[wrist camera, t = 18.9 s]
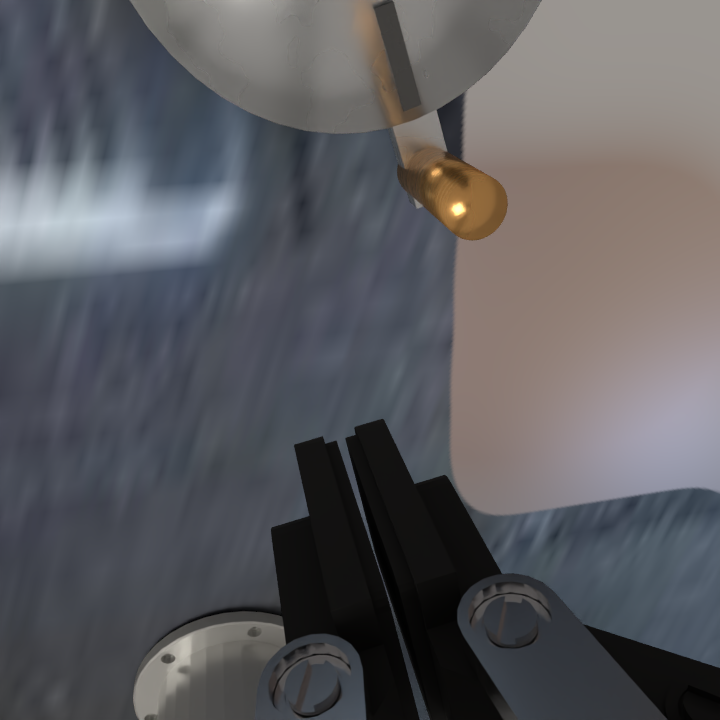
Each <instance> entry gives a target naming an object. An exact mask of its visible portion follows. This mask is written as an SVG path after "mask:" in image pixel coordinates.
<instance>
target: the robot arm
mask: <svg viewBox="0 0 720 720" xmlns="http://www.w3.org/2000/svg"><path fill="white" fill-rule="evenodd" d="M355 433H356V435H354V436H350V437H347V438H346V443H347V447H348V451H349V455H350V458H351V462H352V466H353V470H354V474H355V478H356V481H357V485H358V489H359V493H360V497H361V501H362V504H363V508H364V512H365V516H366V520H367V523H368V527H369V531H370V535H371V539H372V543H373V546H374V550H375V554H376V557H377V561H378V564H379V567H380V570H381V573H382V576H383V579H384V582H385V585H386V588H387V591H388V594H389V597H390V600H391V603H392V606H393V609H394V612H395V615H396V618H397V621H398V624H399V627H400V630H401V633H402V636H403V639H404V642H405V645H406V648H407V651H408V654H409V657H410V660H411V663H412V666H413V669H414V672H415V675H416V678H417V681H418V684H419V687H420V690H421V693H422V696H423V699H424V702H425V705H426V708H427V711H428V714H429V717H430V720H720V668H718V667H715V666H712V665H708V664H705V663H702V662H699V661H696V660H693V659H690V658H687V657H683V656H680V655H677V654H674V653H671V652H668V651H665V650H662V649H659V648H655V647H652V646H649V645H646V644H643V643H640V642H637V641H634V640H631V639H627V638H624V637H621V636H618V635H615V634H612V633H609V632H606V631H602V630H599V629H596V628H593V627H590V626H587V625H584V624H582V623H581V622H580V620H579V619H578V618H577V617H576V616H575V615H574V614H573V612H572V611H571V610H570V609H569V608H568V607H567V606H566V605H565V603H564V602H563V601H562V600H561V599H560V598H559V597H558V596H557V594H556V593H555V592H554V591H553V590H551V589H550V588H549V587H548V586H547V585H545V584H544V583H543V582H541V581H539V580H536V579H534V578H532V577H530V576H525V575H519V574H514V573H512V574H502V573H501V571H500V569H499V568H498V566H497V564H496V562H495V560H494V559H493V557H492V555H491V553H490V552H489V550H488V548H487V546H486V544H485V543H484V541H483V539H482V537H481V535H480V534H479V532H478V530H477V528H476V527H475V525H474V523H473V521H472V519H471V518H470V516H469V514H468V512H467V510H466V509H465V507H464V505H463V503H462V502H461V500H460V498H459V496H458V494H457V493H456V491H455V489H454V487H453V485H452V484H451V482H450V480H449V479H448V477H447V476H445V475H443V476H439V477H436V478H433V479H430V480H426V481H423V482H420V483H416V484H414V482H413V480H412V478H411V476H410V474H409V472H408V469H407V467H406V465H405V463H404V461H403V459H402V457H401V455H400V453H399V451H398V448H397V446H396V444H395V442H394V440H393V438H392V436H391V434H390V432H389V429H388V427H387V425H386V423H385V421H384V419H380V420H377V421H373V422H370V423H366V424H363V425H360V426H356V427H355ZM294 447H295V452H296V457H297V461H298V466H299V470H300V475H301V479H302V484H303V488H304V493H305V498H306V502H307V507H308V511H309V516H308V517H305V518H301V519H298V520H295V521H292V522H288V523H285V524H282V525H278V526H275V527H272V528H271V535H272V543H273V551H274V558H275V566H276V573H277V581H278V588H279V596H280V603H281V611H282V616H279V615H274V614H269V613H263V612H248V611H240V612H229V613H222V614H217V615H213V616H209V617H204V618H202V619H199V620H197V621H194V622H191V623H189V624H186V625H184V626H182V627H181V628H179V629H177V630H175V631H173V632H172V633H170V634H168V635H167V636H166V637H165V638H163V639H162V640H161V641H160V642H158V643H157V644H156V645H155V646H154V647H153V648H152V649H151V650H150V652H149V653H148V654H147V655H146V656H145V658H144V659H143V661H142V663H141V665H140V667H139V668H138V671H137V675H136V679H135V683H134V695H133V703H134V708H135V713H136V715H137V717H138V719H139V720H419V716H418V712H417V708H416V704H415V700H414V696H413V693H412V689H411V685H410V681H409V677H408V673H407V670H406V666H405V662H404V658H403V654H402V650H401V647H400V643H399V639H398V635H397V631H396V627H395V623H394V620H393V616H392V612H391V608H390V604H389V601H388V597H387V594H386V591H385V587H384V584H383V581H382V578H381V575H380V572H379V569H378V565H377V562H376V559H375V556H374V553H373V550H372V547H371V544H370V541H369V538H368V535H367V532H366V529H365V526H364V523H363V520H362V517H361V514H360V511H359V508H358V505H357V502H356V499H355V496H354V493H353V490H352V487H351V483H350V480H349V477H348V474H347V471H346V468H345V465H344V462H343V459H342V456H341V453H340V450H339V447H338V444H337V441H333V442H330V443H327V444H325V442H324V439H323V436H322V437H319V438H315V439H312V440H309V441H305V442H302V443H298V444H295V445H294Z"/></svg>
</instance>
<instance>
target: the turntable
mask: <svg viewBox="0 0 720 720" xmlns="http://www.w3.org/2000/svg"><path fill="white" fill-rule="evenodd" d="M130 1H131V3H132V4H133V6H134V7H135V9H136V10H137V12H138V13H139V15H140V16H141V18H142V19H143V21H144V22H145V24H146V25H147V27H148V28H149V29H150V31H151V32H152V33H153V34H154V35H155V36H156V38H157V39H158V40H159V41H160V42H161V44H162V45H163V46H164V47H165V48H166V49H167V51H168V52H169V53H170V54H171V55H172V56H173V57H174V58H175V59H176V60H177V61H178V62H179V63H180V64H181V65H182V66H184V67H185V68H186V69H187V70H188V71H189V72H190V73H191V74H192V75H193V76H194V77H195V78H196V79H198V80H199V81H200V82H202V83H203V84H205V85H206V86H207V87H209V88H210V89H211V90H213V91H214V92H216V93H217V94H218V95H220V96H221V97H222V98H224V99H226V100H228V101H229V102H231V103H233V104H235V105H237V106H239V107H240V108H242V109H244V110H246V111H248V112H249V113H252V114H254V115H257V116H259V117H262V118H264V119H267V120H269V121H272V122H274V123H277V124H281V125H285V126H289V127H293V128H297V129H301V130H305V131H313V132H322V133H332V134H341V133H364V132H369V131H375V130H381V129H387V128H388V132H389V135H390V138H391V142H392V145H393V148H394V152H395V155H396V158H397V161H398V168H397V175H398V180H399V182H400V184H401V186H402V187H403V189H404V190H405V191H406V192H407V195H408V198H409V201H410V203H411V204H412V205H413V206H414V207H415V208H417V209H418V208H420V207H425V208H426V209H427V210H428V211H429V212H430V213H431V214H432V215H434V216H435V217H436V218H437V219H438V220H439V221H440V222H442V223H443V224H444V225H445V226H446V227H447V228H448V229H449V230H451V231H452V232H453V233H454V234H455V235H457V236H458V237H460V238H462V239H466V240H479V239H482V238H485V237H487V236H489V235H490V234H492V233H493V232H494V231H495V230H496V229H497V228H498V227H499V226H500V225H501V223H502V222H503V220H504V217H505V215H506V212H507V205H508V204H507V195H506V192H505V190H504V188H503V187H502V185H501V184H500V183H499V182H498V181H497V180H495V179H494V178H492V177H490V176H488V175H487V174H485V173H483V172H482V171H479V170H478V169H476V168H475V167H473V166H471V165H469V164H467V163H466V162H464V161H462V160H460V159H459V158H457V157H455V156H453V155H452V154H450V153H448V152H447V148H446V145H445V141H444V137H443V133H442V129H441V126H440V122H439V118H438V114H437V109H439V108H441V107H442V106H444V105H445V104H447V103H449V102H450V101H452V100H453V99H455V98H456V97H458V96H459V95H461V94H463V93H464V92H465V91H467V90H468V89H469V88H470V87H471V86H472V85H474V84H475V83H476V82H477V81H479V80H480V79H481V78H482V77H483V76H484V75H486V74H487V73H488V72H489V71H490V70H491V69H492V68H493V66H494V65H495V64H496V63H497V62H498V61H499V60H500V59H501V58H502V57H503V56H504V55H505V54H506V53H507V51H508V50H509V49H510V48H511V46H512V45H513V43H514V42H515V41H516V39H517V38H518V37H519V35H520V34H521V32H522V31H523V30H524V29H525V27H526V26H527V24H528V23H529V21H530V19H531V17H532V16H533V14H534V12H535V11H536V9H537V7H538V5H539V4H540V2H541V0H130Z"/></svg>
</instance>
